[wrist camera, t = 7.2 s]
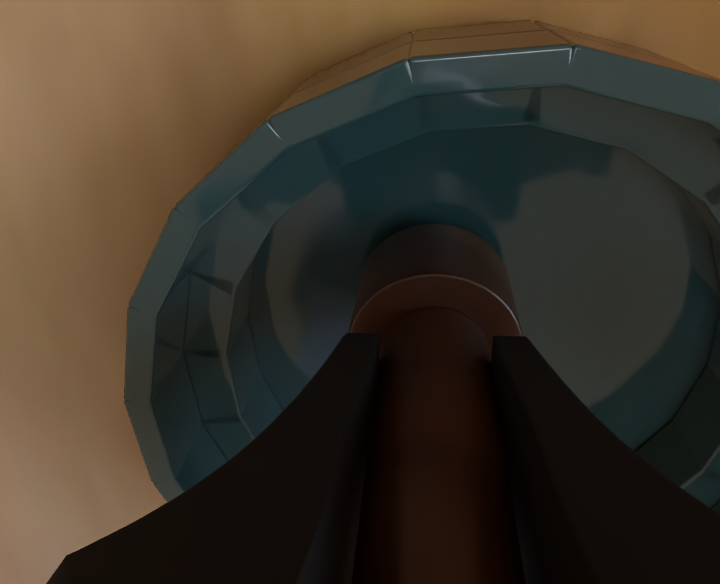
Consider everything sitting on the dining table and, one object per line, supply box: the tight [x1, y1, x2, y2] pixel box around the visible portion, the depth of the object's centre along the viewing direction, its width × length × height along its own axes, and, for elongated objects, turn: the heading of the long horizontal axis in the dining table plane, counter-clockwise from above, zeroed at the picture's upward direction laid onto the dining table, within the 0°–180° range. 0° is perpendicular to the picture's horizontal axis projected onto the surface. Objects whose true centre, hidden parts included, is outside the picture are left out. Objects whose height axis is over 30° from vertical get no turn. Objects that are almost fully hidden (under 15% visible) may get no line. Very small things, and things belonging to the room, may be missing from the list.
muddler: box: [349, 224, 526, 584], centre depth 10 cm, size 4×4×11 cm
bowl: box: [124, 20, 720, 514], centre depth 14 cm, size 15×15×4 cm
